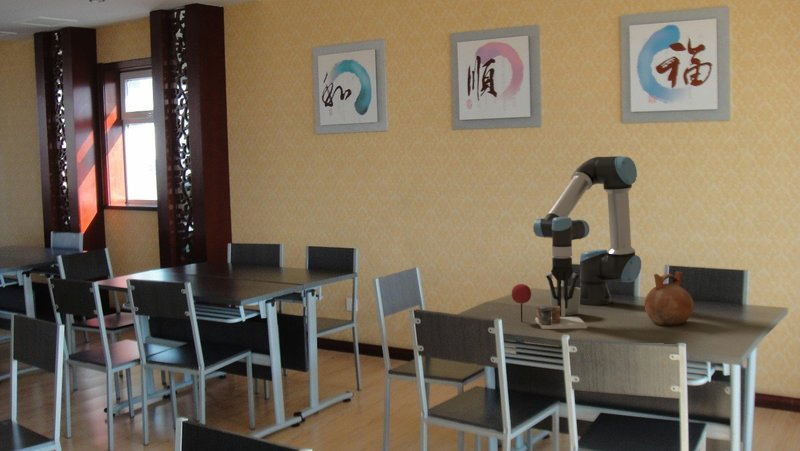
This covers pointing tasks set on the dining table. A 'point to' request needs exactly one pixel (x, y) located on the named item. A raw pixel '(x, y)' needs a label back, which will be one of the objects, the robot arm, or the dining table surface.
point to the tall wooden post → (544, 316)
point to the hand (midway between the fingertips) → (562, 316)
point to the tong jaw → (553, 312)
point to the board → (564, 323)
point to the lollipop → (521, 294)
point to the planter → (572, 303)
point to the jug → (669, 301)
